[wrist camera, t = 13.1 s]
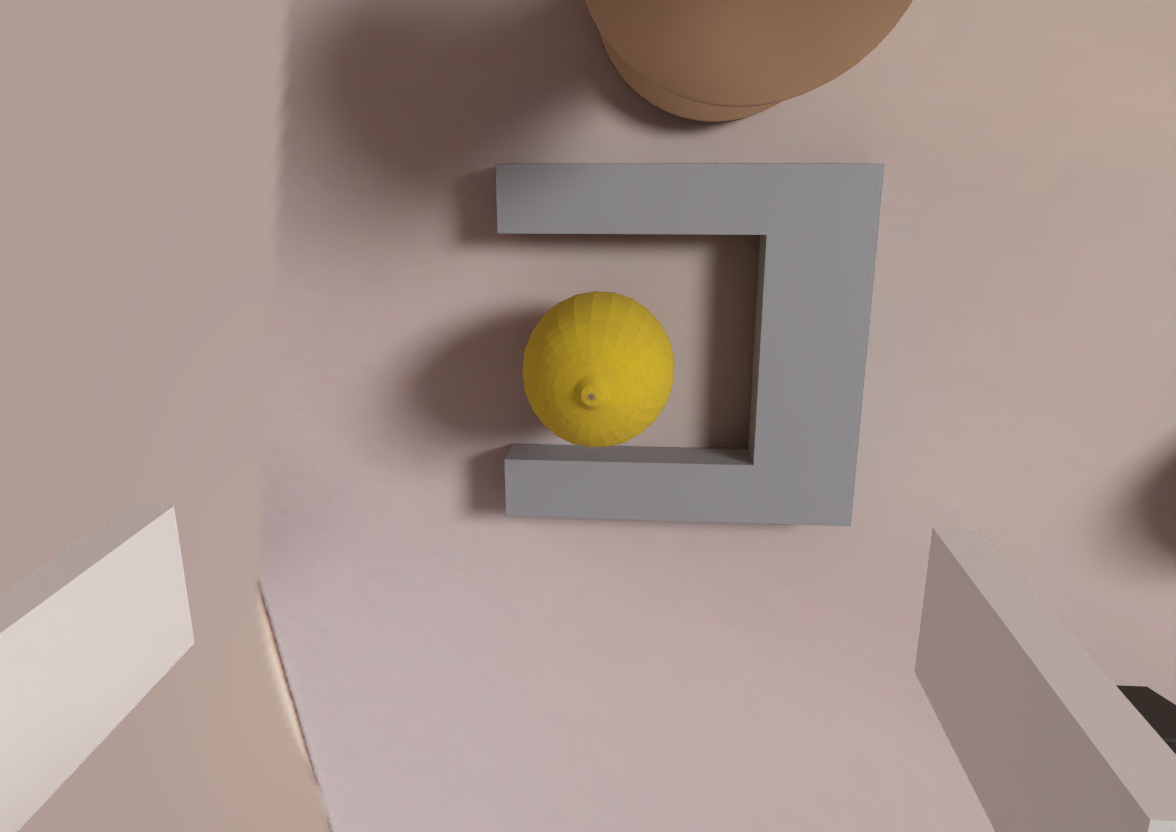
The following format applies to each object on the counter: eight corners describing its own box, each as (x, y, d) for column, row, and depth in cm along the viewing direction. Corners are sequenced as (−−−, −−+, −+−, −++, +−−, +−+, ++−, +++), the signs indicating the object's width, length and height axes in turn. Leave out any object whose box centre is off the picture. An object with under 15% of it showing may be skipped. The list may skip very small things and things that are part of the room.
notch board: (504, 163, 34) (495, 164, 32) (870, 163, 33) (884, 164, 31) (513, 498, 38) (506, 516, 36) (840, 506, 37) (850, 526, 35)
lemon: (517, 381, 36) (482, 439, 29) (566, 257, 35) (543, 283, 27) (639, 431, 36) (637, 502, 29) (693, 310, 35) (706, 351, 27)
